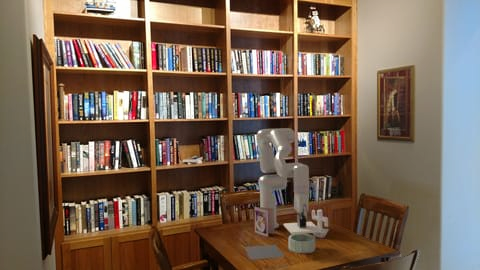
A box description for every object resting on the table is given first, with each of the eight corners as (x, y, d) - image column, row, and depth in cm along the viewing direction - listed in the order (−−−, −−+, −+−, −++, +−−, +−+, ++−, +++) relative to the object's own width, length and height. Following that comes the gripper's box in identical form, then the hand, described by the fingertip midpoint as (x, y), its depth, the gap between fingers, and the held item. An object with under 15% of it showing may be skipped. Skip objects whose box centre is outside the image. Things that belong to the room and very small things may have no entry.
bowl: (285, 245, 198) (285, 234, 198) (309, 243, 200) (309, 232, 200) (293, 254, 185) (293, 242, 185) (318, 252, 187) (318, 241, 187)
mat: (244, 247, 196) (244, 247, 196) (276, 245, 198) (276, 244, 198) (249, 260, 179) (249, 259, 179) (284, 257, 182) (284, 256, 182)
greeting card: (253, 232, 221) (253, 207, 220) (263, 230, 225) (263, 205, 224) (266, 237, 212) (266, 211, 211) (276, 234, 216) (276, 208, 215)
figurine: (324, 239, 206) (324, 212, 205) (309, 236, 212) (309, 210, 211) (330, 236, 212) (330, 209, 211) (315, 233, 218) (315, 207, 217)
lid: (283, 225, 198) (283, 212, 198) (311, 223, 200) (310, 210, 200) (291, 234, 183) (291, 219, 183) (321, 232, 186) (321, 218, 185)
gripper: (289, 186, 199) (290, 221, 199) (299, 193, 182) (299, 230, 183) (303, 186, 200) (303, 220, 201) (314, 192, 183) (314, 229, 184)
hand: (301, 224), depth 192 cm, fingers closed on lid, 3 cm apart
